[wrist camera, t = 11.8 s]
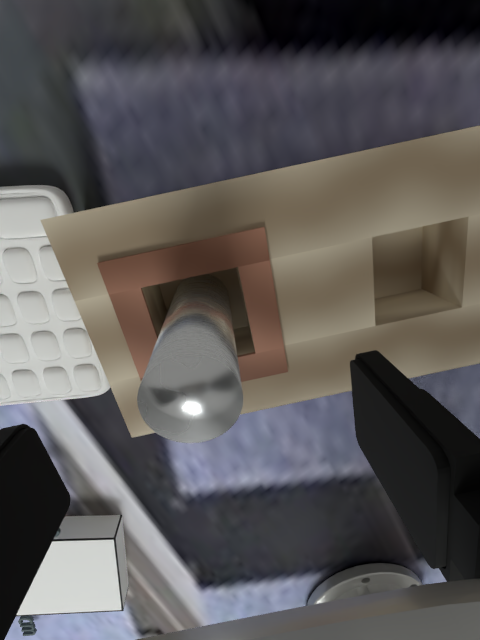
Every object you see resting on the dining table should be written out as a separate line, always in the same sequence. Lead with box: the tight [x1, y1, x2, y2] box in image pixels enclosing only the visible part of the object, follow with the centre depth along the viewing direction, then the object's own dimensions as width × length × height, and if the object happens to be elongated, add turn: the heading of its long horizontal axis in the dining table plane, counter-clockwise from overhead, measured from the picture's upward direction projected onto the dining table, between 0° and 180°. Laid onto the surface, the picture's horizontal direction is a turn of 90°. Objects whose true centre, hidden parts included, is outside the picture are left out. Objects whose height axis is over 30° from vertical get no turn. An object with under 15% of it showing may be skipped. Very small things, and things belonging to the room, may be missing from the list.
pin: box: [137, 274, 243, 443], centre depth 14 cm, size 3×3×10 cm
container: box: [16, 515, 129, 636], centre depth 27 cm, size 20×12×3 cm, turn 176°
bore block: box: [41, 125, 480, 437], centre depth 18 cm, size 12×22×5 cm, turn 101°
